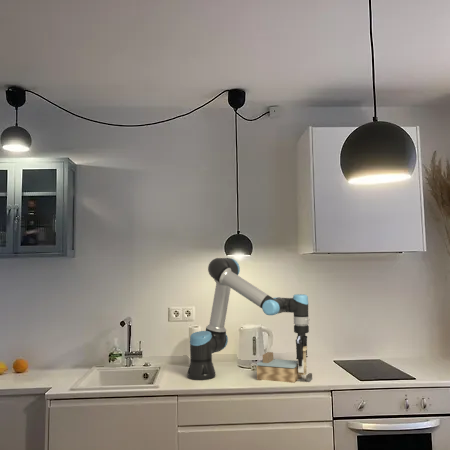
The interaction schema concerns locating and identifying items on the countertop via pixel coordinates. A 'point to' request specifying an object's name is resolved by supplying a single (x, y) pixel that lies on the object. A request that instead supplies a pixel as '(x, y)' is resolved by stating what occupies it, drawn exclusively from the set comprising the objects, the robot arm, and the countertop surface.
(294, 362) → the lid
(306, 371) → the beige wooden tall block
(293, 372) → the toolbox
